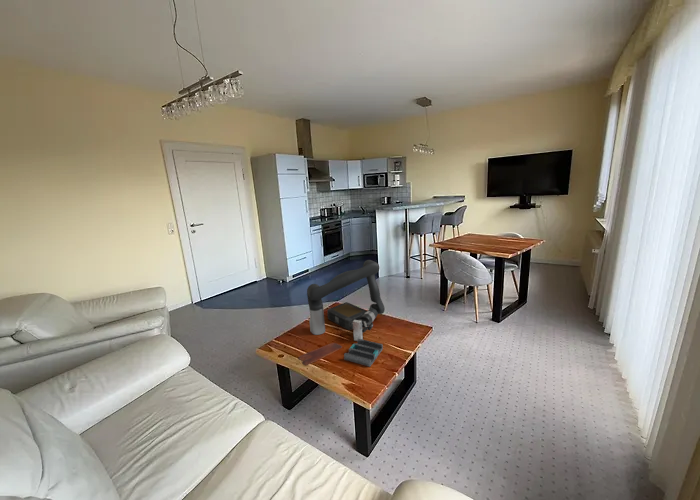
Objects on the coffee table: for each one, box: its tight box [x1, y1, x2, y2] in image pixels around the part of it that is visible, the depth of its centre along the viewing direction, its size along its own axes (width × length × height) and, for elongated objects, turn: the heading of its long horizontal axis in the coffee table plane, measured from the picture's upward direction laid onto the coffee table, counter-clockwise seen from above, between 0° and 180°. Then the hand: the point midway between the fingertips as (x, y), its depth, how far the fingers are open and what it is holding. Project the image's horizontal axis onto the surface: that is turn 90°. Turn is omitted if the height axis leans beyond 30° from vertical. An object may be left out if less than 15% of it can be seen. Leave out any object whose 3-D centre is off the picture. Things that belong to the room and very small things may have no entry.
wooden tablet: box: [298, 342, 343, 366], centre depth 169 cm, size 27×10×2 cm, turn 127°
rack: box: [343, 338, 384, 368], centre depth 165 cm, size 16×18×4 cm
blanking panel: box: [352, 320, 364, 342], centre depth 179 cm, size 5×2×13 cm, turn 61°
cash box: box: [326, 301, 368, 331], centre depth 207 cm, size 25×20×8 cm
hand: (356, 330), depth 177 cm, fingers open, 8 cm apart
